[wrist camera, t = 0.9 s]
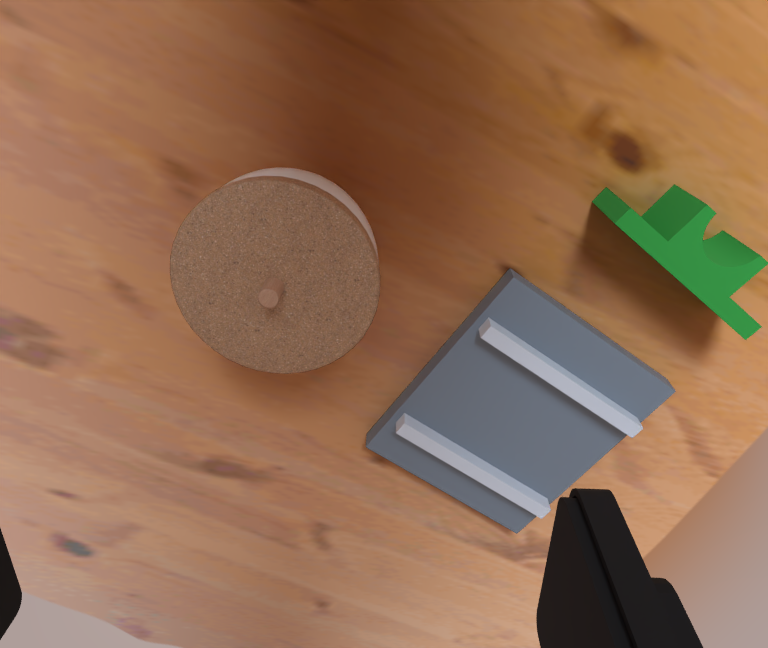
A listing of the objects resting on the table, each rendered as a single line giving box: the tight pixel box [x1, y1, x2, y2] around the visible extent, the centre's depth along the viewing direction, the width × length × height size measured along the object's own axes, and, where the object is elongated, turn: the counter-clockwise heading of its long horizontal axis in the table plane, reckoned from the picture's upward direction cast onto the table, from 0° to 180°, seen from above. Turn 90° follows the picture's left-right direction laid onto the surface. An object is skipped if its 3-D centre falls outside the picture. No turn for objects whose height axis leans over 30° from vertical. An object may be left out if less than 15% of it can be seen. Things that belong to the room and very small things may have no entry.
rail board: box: [366, 268, 675, 533], centre depth 42 cm, size 16×14×3 cm
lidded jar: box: [170, 167, 380, 374], centre depth 34 cm, size 11×11×9 cm
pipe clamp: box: [592, 184, 768, 340], centre depth 35 cm, size 11×4×5 cm, turn 51°
